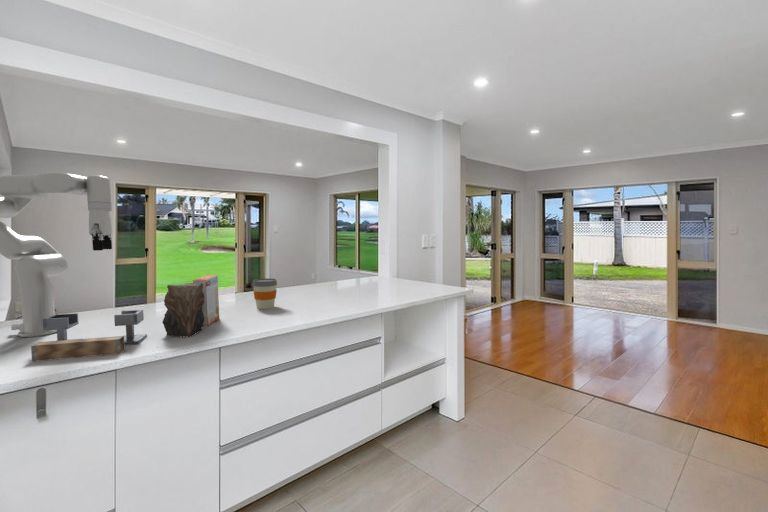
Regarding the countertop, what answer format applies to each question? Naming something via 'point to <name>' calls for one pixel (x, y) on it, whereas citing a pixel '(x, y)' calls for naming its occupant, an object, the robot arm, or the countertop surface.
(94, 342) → the rail
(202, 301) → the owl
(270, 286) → the reusable coffee cup
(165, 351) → the countertop surface
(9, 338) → the countertop surface
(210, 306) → the cracker box
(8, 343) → the countertop surface
